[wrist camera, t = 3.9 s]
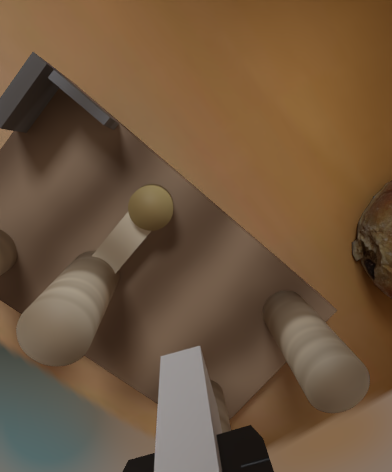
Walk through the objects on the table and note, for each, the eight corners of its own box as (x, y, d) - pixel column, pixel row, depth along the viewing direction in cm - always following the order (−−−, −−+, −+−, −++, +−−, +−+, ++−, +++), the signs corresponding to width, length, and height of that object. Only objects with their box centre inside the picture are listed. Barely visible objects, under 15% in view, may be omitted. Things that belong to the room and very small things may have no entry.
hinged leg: (145, 171, 20) (130, 179, 13) (185, 205, 21) (191, 230, 13) (60, 277, 21) (1, 339, 14) (99, 305, 22) (63, 378, 15)
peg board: (-46, 238, 24) (-221, 302, 13) (70, 80, 22) (-26, 7, 11) (206, 410, 28) (226, 557, 18) (319, 293, 27) (414, 382, 16)
